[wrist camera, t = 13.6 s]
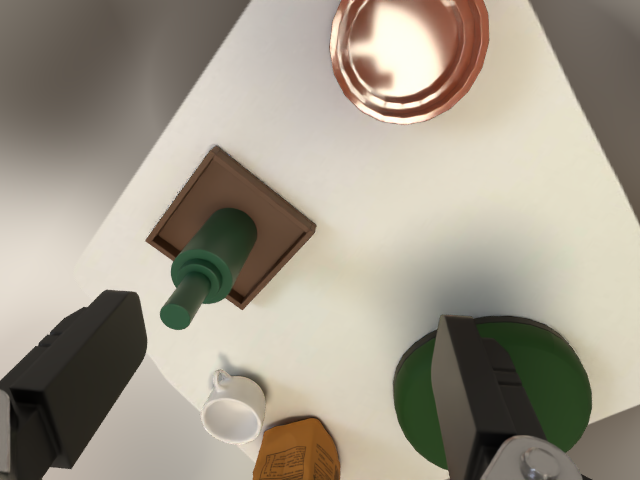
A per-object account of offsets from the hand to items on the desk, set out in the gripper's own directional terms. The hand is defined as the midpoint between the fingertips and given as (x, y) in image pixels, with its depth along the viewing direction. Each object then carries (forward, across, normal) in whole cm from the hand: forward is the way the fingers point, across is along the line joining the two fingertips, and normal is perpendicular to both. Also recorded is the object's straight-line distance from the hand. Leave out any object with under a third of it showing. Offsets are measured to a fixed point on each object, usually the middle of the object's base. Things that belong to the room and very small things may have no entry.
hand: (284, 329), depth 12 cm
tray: (+33, +11, +13) cm, 37 cm away
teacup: (+33, +12, +36) cm, 50 cm away
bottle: (+33, +11, +13) cm, 37 cm away
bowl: (+34, -5, -6) cm, 34 cm away
